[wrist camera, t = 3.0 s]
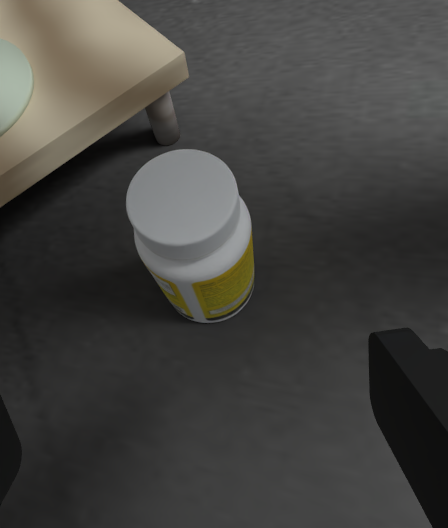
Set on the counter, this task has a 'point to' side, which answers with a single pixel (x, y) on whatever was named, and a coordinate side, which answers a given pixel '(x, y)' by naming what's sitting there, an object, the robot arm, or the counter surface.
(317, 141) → the counter surface
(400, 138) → the counter surface
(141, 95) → the shelf stand
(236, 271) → the supplement bottle
